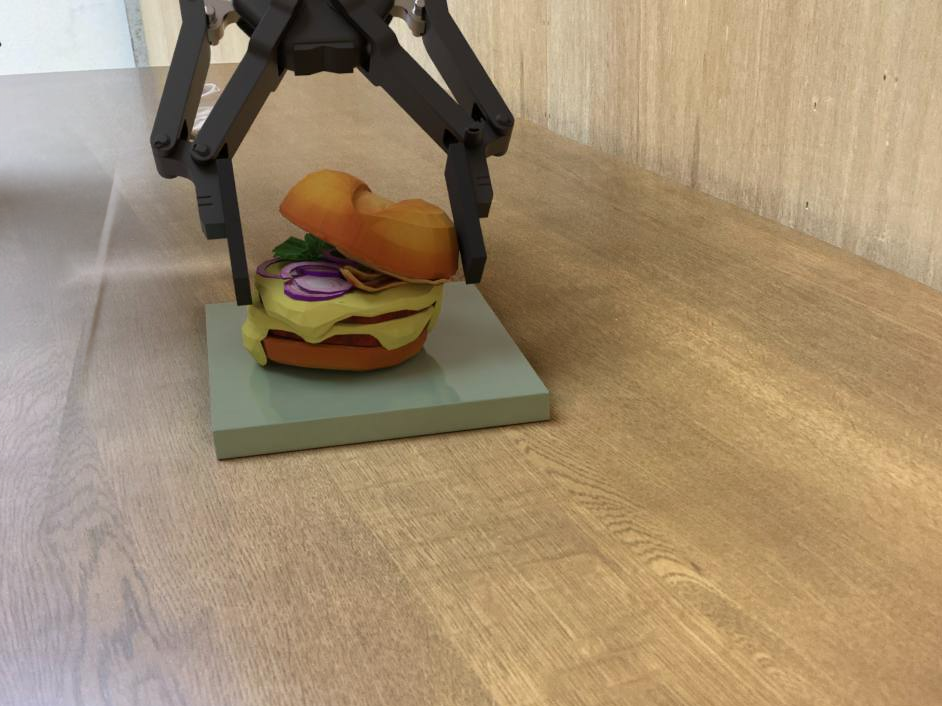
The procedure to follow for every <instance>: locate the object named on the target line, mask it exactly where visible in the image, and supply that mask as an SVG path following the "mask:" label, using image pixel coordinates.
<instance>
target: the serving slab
mask: <svg viewBox="0 0 942 706" xmlns="http://www.w3.org/2000/svg"><path fill="white" fill-rule="evenodd" d="M204 312H205V327H206V329H205V330H206V346H207V347H206V348H207V363H208V382H209V398H210V401H209V402H210V417H211V432H212V439H213V445H214V450H215V456H216V459H217V460H227V459H235V458H242V457H250V456H259V455H268V454H275V453H277V454H278V453H283V452H284V453H285V452H292V451H293V452H294V451H301V450H308V449H316V448H318V449H319V448H327V447H335V446H342V445H343V446H344V445H352V444H359V443H366V442H367V443H368V442H375V441H383V440H393V439H399V438H401V439H402V438H409V437H419V436H424V435H425V436H426V435H434V434H443V433H450V432H451V433H452V432H459V431H468V430H475V429H485V428H491V427H501V426H510V425H516V424H517V425H518V424H525V423H534V422H535V423H536V422H541V421H542V422H543V421H549V420H551V392H550V391H549V389H548V388H547V387H546V385H545V383H544V382H543V380H542V379H541V377H540V376H539V375H538V374H537V372H536V370H535V369H534V367H532V365H531V363H530V362H529V361H528V359H527V358H526V356H525V355H524V354H523V352H522V351H521V350H520V349H521V348H520V347H519V346H518V345H517V344H516V342H515V340H514V339H513V337H512V336H511V335H510V334H509V332H508V330H507V329H506V328H505V326H504V325H503V324H502V322H501V321H500V319H499V317H498V316H497V315H496V313H495V312H494V311H493V309H492V308H491V306H490V305H489V304H488V302H487V301H486V299H485V298H484V296H483V295H482V293H481V291H480V290H479V289H478V288H477V286H476V284H467V285H466V282H465V280H459V281H449V282H447V283H444V288H443V296H442V302H441V312H440V314H439V317H438V319H437V322H436V324H435V327H434V328H433V330H432V331H431V332H429V333H427V339H426V341H425V343H424V345H423V346H422V348H421V350H420V351H419V352H418V353H417V354H415V355H413V356H412V357H410V358H408V359H406V360H405V361H403V362H401V363H400V364H397V365H395V366H391V367H385V368H379V369H373V370H367V371H353V370H336V369H323V368H310V367H300V366H294V365H288V364H282V363H277V362H275V361H273V360H271V359H270V358H268V357H267V356H266V358H267V363H266V365H264V366H263V365H260V364H259V363H258V362H257V361H256V360H255V359H254V358H253V357H252V356H251V354H250V353H249V352H248V351H247V349H246V348H245V347H244V345H243V336H242V329H241V327H242V326H243V324H244V323H245V321H246V319H247V317H248V315H247V305H244V306H237V301H231V302H229V301H227V302H217V303H207V304H205V305H204Z"/></svg>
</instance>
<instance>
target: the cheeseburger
mask: <svg viewBox="0 0 942 706" xmlns="http://www.w3.org/2000/svg"><path fill="white" fill-rule="evenodd" d="M278 212H279V213H280V215H281V216H282V217H283V218H284V219H286V220H287V221H288V222H289V223H291V224H293V225H294V226H296V227H297V228H299V229H301V230H302V231H304V232H306V233H305V234H304V240H303V239H300V238H298V237H296V236H292V235H291V236H289V237H288V238H287V239H285V240H284V241H283V242H281V243H280V244H278V245H276V246H274V247H273V248H274V249H272V253H274V254H273V256H272V258H271V259H268V260H265V261H263V262H262V263H260V264H259V265H257V266H256V270H255V274H254V276H253V278H252V284H253V287H254V289H253V290H252V291H251V295H252V303H253V305H247V315H248V317H247V319H246V321H245V323H244V324H243V326H242V327H241V329H242V336H243V345H244V347H245V348H246V349H247V351H248V352H249V353H250V354H251V356H252V357H253V358H254V359H255V360H256V361H257V362H258V363H259V364H260V365H263V366H264V365H266V363H267V358H266V356H267V357H268V358H270V359H271V360H273V361H275V362H277V363H282V364H288V365H294V366H300V367H310V368H323V369H336V370H353V371H367V370H373V369H379V368H385V367H391V366H395V365H397V364H400V363H401V362H403V361H405V360H406V359H408V358H410V357H412V356H413V355H415V354H417V353H418V352H419V351H420V350H421V348H422V346H423V345H424V343H425V341H426V339H427V333H429V332H431V331H432V330H433V328H434V327H435V324H436V322H437V319H438V317H439V314H440V312H441V302H442V296H443V288H444V283H448V282H451V280H452V277H453V276H456V275H457V273H458V270H459V261H460V251H459V243H458V239H457V234H456V230H455V226H454V221H453V219H451V218H450V216H449V215H448V214H447V213H446V211H444V209H442V208H440V207H439V206H437V205H435V204H433V203H430V202H428V201H426V200H424V199H421V198H409V199H402V200H399V201H397V202H395V201H392V200H390V199H388V198H385V197H384V196H381V195H378V194H376V193H374V192H373V191H372V189H371V188H370V187H369V185H368V184H367V183H365V181H363V180H361V179H360V178H358V177H357V176H354V175H352V174H350V173H348V172H345V171H341V170H334V169H328V168H323V169H319V170H317V171H316V170H315V171H313V172H309V173H307V174H306V175H305V176H304V177H303V178H302V179H300V180H299V181H298V182H296V184H295V185H293V186H292V188H290V189H289V191H288V192H287V194H286V195H285V197H284V198H283V200H282V201H281V203H280V205H279V208H278Z"/></svg>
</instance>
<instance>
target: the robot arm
mask: <svg viewBox="0 0 942 706" xmlns="http://www.w3.org/2000/svg"><path fill="white" fill-rule="evenodd" d="M178 3H179V9H180V16H181V25H180V29H179V32H178V37H177V40H176V44H175V47H174V51H173V53H172V58H171V61H170V65H169V68H168V72H167V74H166V75H167V76H166V79H165V83H164V87H163V89H162V93H161V97H160V101H159V104H158V108H157V111H156V115H155V119H154V123H153V126H152V129H151V133H150V136H149V142H150V147H151V151H152V155H153V159H154V160H153V161H154V164H155V167H156V172H157V173H158V175H159V176H160V177H162V178H163V179H166V180H173V179H176V178H178V177H180V178H183V179H187V180H188V181H191V182H192V184H193V185H194V188H195V189H194V190H195V196H196V204H197V210H198V218H199V222H200V229H201V232H202V233H203V235H204V237H205V238H206V240H208V241H211V240H224V239H225V240H226V241H227V248H228V254H229V263H230V268H231V276H232V282H233V289H234V295H235V300H236V301H235V302H237V306H244V305H253V303H252V295H251V293H252V289H251V282H250V274H249V267H248V260H247V253H246V248H245V242H244V241H245V240H244V234H243V227H242V221H241V219H242V218H241V214H240V206H239V201H238V200H239V199H238V193H237V187H236V180H235V173H234V167H233V166H234V165H233V159H234V157H235V155H236V153H237V151H238V150H239V148H240V146H241V145H242V144H243V141H244V140H245V137H246V136H247V134H248V133H249V131H250V129H251V127H252V126H253V124H254V122H255V120H256V119H257V117H258V115H259V114H260V112H261V110H262V108H263V107H264V105H265V103H266V101H267V100H268V98H269V97H270V95H271V93H275V92H276V91H277V89H278V88H279V86H280V84H281V83H282V81H283V79H284V77H285V75H286V73H287V72H288V71H290V72H293V73H294V74H293V75H294V77H303V76H305V77H307V76H312V75H316V74H319V73H323V72H325V73H333V74H336V75H337V74H338V75H342V74H343V75H344V74H345V75H346V74H354V72H355V71H354V69H357V70H358V71H359V73H361V74H362V76H363V77H364V78H365V79H367V80H368V81H369V83H371V84H372V86H374V87H375V88H376V87H380V88H381V89H383V91H385V93H387V95H388V96H389V97H390V98H392V100H393V101H394V102H395V103H396V104H397V105H398V106H399V107H400V108H401V109H402V110H403V111H404V112H405V113H406V114H407V115H408V116H409V117H410V118H411V120H413V121H414V122H415V124H417V125H418V126H419V127H420V128H421V129H422V131H424V132H425V134H426V135H427V136H429V138H430V139H431V140H432V141H433V142H434V143H436V145H437V147H439V148H440V149H441V150H442V151H443V152H444V153H445V154H446V155H447V156H446V162H445V167H444V173H443V175H444V181H445V186H446V190H447V196H448V201H449V205H450V210H451V215H452V222H453V223H454V226H455V230H456V234H457V239H458V243H459V258H460V261H461V266H462V271H463V276H464V281H465V282H466V285H467V284H474V285H476V284H481V282H482V278H483V274H484V271H485V267H486V263H487V260H488V254H487V250H486V245H485V240H484V235H483V230H482V226H481V225H482V224H481V219H488V218H489V215H490V211H491V207H492V203H493V199H494V190H493V189H494V188H493V185H492V180H491V179H492V178H491V175H490V169H489V165H488V160H487V159H488V158H490V157H492V156H493V157H496V158H499V157H504V155H507V152H508V150H509V146H510V143H511V139H512V134H513V130H514V127H515V121H516V120H515V117H514V114H513V113H512V112H511V110H510V108H509V106H508V104H507V103H506V102H505V101H504V99H503V97H502V95H501V94H500V92H499V90H498V89H497V87H496V86H495V84H494V82H493V81H492V79H491V77H490V76H489V74H488V73H487V71H486V69H485V68H484V65H482V63H481V61H480V59H479V58H478V56H477V54H476V53H475V52H474V49H472V47H471V45H470V44H469V42H468V40H467V39H466V37H465V36H464V33H463V32H462V31H461V28H460V27H459V26H458V25H457V23H456V21H455V19H454V18H453V16H452V15H451V13H450V10H449V6H448V0H178ZM394 18H399V19H401V20H403V21H404V22H405V23H406V25H407V27H408V29H409V30H410V31H411V34H412V36H413V37H415V38H421V40H422V44H423V47H424V49H425V51H426V53H427V55H428V57H429V59H430V60H431V62H432V63H433V65H434V67H435V68H436V70H437V72H438V73H439V75H440V77H441V78H442V80H443V81H444V83H445V84H446V86H447V88H448V90H449V91H450V93H451V95H452V96H453V97H452V96H451V95H450V94H449V93H448V92H447V91H446V90H445V89H444V88H443V87H442V86H441V85H440V84H439V83H438V82H437V81H436V80H435V79H434V77H432V76H431V74H429V73H428V72H427V70H426V69H425V68H424V67H422V66H421V64H420V63H419V62H417V60H416V59H415V58H414V57H413V56H412V55H411V54H409V52H408V51H407V50H406V49H405V48H404V47H403V45H402V44H401V43H400V41H399V38H398V37H397V34H396V32H395V31H394V30H393V29H392V28H391V26H390V25H391V23H392V21H393V19H394ZM231 24H236V26H237V27H238V28H239V29H240V30H241V31H242V32H243V33H244V34H245V35H246V36H247V37H248V38H249V41H248V43H247V49H246V52H245V53H244V55H243V56H242V59H241V60H240V62H239V64H238V65H237V66H236V68H235V70H234V72H233V73H232V76H231V77H230V78H229V80H228V82H227V84H226V85H225V87H224V89H223V90H222V91H221V92H222V94H221V95H220V97H219V99H218V100H217V102H216V104H215V105H214V107H213V109H212V110H211V112H210V114H209V115H208V117H207V119H206V120H205V122H204V124H203V125H202V127H201V129H200V130H199V131H198V132H197V133H196V135H195V137H194V139H193V140H192V141H191V137H192V133H193V132H192V129H193V126H194V122H195V118H196V114H197V111H198V107H199V103H200V99H201V96H202V92H203V88H204V84H206V80H207V77H208V73H209V69H210V64H211V60H212V59H211V58H212V56H211V55H212V50H211V46H212V47H216V46H218V45H219V43H220V40H222V39H223V37H224V35H225V30H226V28H227V27H228V26H229V25H231ZM0 47H2V42H1V41H0Z"/></svg>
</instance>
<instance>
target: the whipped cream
mask: <svg viewBox="0 0 942 706" xmlns="http://www.w3.org/2000/svg"><path fill="white" fill-rule="evenodd" d="M221 94H222V93H221V89H220V87H218V86H217V85H216V84H215V83H205V84H204V88H203V92H202V96H201V99H200V103H199V107H198V111H197V114H196V118H195V122H194V126H193V129H192V133H196V132H197V133H198V132H199V130H200V129H201V127H202V125H203V124H204V122H205V120H206V119H207V117H208V115H209V114H210V112H211V110H212V109H213V107H214V105H215V104H216V102H217V100H218V99H219V97H220V95H221Z"/></svg>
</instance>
